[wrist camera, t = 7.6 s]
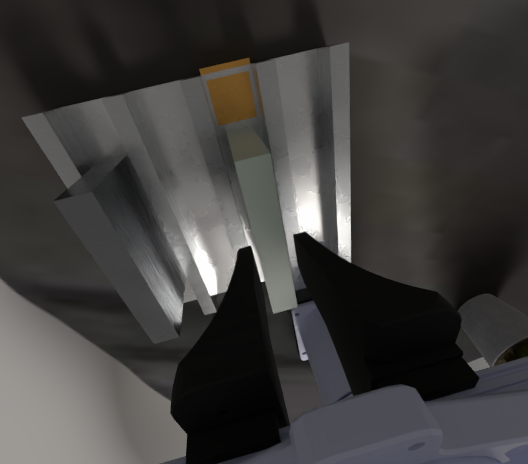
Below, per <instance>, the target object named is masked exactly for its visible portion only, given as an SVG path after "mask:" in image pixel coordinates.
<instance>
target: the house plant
mask: <svg viewBox="0 0 528 464" xmlns="http://www.w3.org/2000/svg"><path fill="white" fill-rule="evenodd" d="M458 312H459V313H460V315H461V318H462V322H461V327H462V328H463V330H464V331H465V332H466V334H467V335H468V337H469V338H470V339H471V341H472V342H473V343H474V345H475V346H476V348H477V349H478V350H479V352H480V353H481V355H482V356H483V357H484V359H485V360H486V362H487V363H488V364H489V366H490V367H493V366H496V365H500V364H503V363H507V362H510V361H513V360H517V359H520V358H524V357H527V356H528V316H527V315H525V314H524V313H522V312H520V311H519V310H517V309H515V308H514V307H512V306H510V305H509V304H507V303H505V302H504V301H502V300H500V299H499V298H497V297H495V296H494V295H492V294H481V295H478V296H476V297H473V298H472V299H470V300H468V301H467V302H466V303H464V304H463V305H462V306H461V307H460V308H459V310H458Z"/></svg>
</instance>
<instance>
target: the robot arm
mask: <svg viewBox="0 0 528 464" xmlns="http://www.w3.org/2000/svg"><path fill="white" fill-rule="evenodd" d="M293 238H294V245H295V251H296V257H297V264H298V268H299V270H300V273H301V276H302V278H303V281H304V283H305V285H306V287H307V289H308V291H309V293H310V295H311V297H312V299H313V301H310V302H306V303H302V304H299V305H297V306H298V307H297V308H293V309H291V313H292V318H293V323H294V328H295V333H296V338H297V343H298V348H299V353H300V357H301V360H308V359H309V362H310V365H311V368H312V371H313V374H314V377H315V380H316V383H317V386H318V389H319V392H320V395H321V398H322V401H323V404H324V405H322V406H318V407H315V408H313V409H311V410H308V411H306V412H304V413H302V414H301V415H300V416H298V417H297V418H296V419H295V420H294V421H293V422H292V424H291V426H290V422H289V418H288V414H287V410H286V406H285V401H284V397H283V393H282V389H281V384H280V380H279V376H278V372H277V367H276V363H275V359H274V354H273V350H272V346H271V341H270V336H269V329H268V321H267V314H266V307H265V299H264V293H263V289H262V284H261V280H260V276H259V273H258V269H257V265H256V262H255V258H254V254H253V250H252V247H251V246H247V247H243V248H240V249H239V250H238V251H237V259H236V263H235V267H234V271H233V274H232V278H231V281H230V283H229V286H228V289H227V291H226V294H225V296H224V298H223V300H222V302H221V304H220V306H219V308H218V310H217V312H216V314H215V316H214V317H213V319H212V321H211V322H210V324H209V326H208V327H207V329H206V330H205V331H204V333H203V334H202V336H201V337H200V339H199V340H198V341H197V343H196V344H195V345H194V347H193V348H192V349H191V350H190V351H189V353H188V354H187V355H186V356H185V357H184V359H183V360H182V361H181V362H180V363H179V364H178V368H177V371H176V375H175V380H174V384H173V390H172V400H171V412H170V413H171V415H172V417H173V418H174V420H175V421H176V422H177V423H178V424H179V425H180V427H181V428H182V429H183V430H184V431H185V432H186V433H187V449H186V456H185V457H181V458H178V459H174V460H171V461H168V462H164V463H161V464H528V356H527V357H524V358H520V359H517V360H513V361H510V362H507V363H503V364H500V365H496V366H493V367H489V368H486V369H483V370H479V371H476V372H474V371H473V370H472V368H471V367H470V366H469V365H468V364H467V363H466V361H465V360H464V359H463V358H462V357H461V356H463V352H462V350H461V349H460V348H459V347H458V346H457V345H456V343H455V342H456V339H457V336H458V333H459V331H460V328H461V322H462V318H461V315H460V313H459V312H458V311H457V310H456V309H455V308H454V307H453V306H452V305H451V304H450V303H449V302H448V301H447V300H446V299H444V298H443V297H442V296H441V295H440V294H439V293H437V292H435V291H430V290H426V289H422V288H417V287H413V286H409V285H406V284H402V283H399V282H396V281H393V280H390V279H387V278H384V277H381V276H379V275H376V274H374V273H371V272H369V271H366V270H364V269H362V268H360V267H358V266H356V265H354V264H352V263H350V262H348V261H346V260H345V259H343V258H341V257H340V256H338V255H337V254H335V253H334V252H332V251H331V250H329V249H328V248H326V247H325V246H323V245H322V244H321V243H319V242H318V241H317V240H315V239H314V238H313V237H312V236H310V235H309V234H308V233H306V232H301V233H297V234H293Z"/></svg>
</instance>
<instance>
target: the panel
mask: <svg viewBox="0 0 528 464" xmlns="http://www.w3.org/2000/svg"><path fill="white" fill-rule="evenodd" d="M227 136H228V140H229V144H230V148H231V152H232V156H233V160H234V163H235V167H236V171H237V175H238V179H239V183H240V187H241V191H242V194H243V198H244V202H245V206H246V210H247V214H248V218H249V221H250V225H251V229H252V233H253V237H254V241H255V245H256V248H257V252H258V256H259V260H260V264H261V268H262V272H263V276H264V279H265V283H266V287H267V291H268V295H269V299H270V303H271V306H272V310H273V314H275V313H278V312H282V311H286V310H289V309H293V308H297V307H298V306H297V300H296V295H295V289H294V283H293V278H292V272H291V266H290V261H289V255H288V250H287V244H286V238H285V233H284V227H283V221H282V216H281V210H280V205H279V199H278V193H277V188H276V182H275V176H274V171H273V165H272V159H271V154H270V152H269V151H268V149H267V148H266V146H265V145H264V143H263V142H262V141H261V139H260V138H259V136H258V135H257V133H256V132H255V131H254V129H253V128H252V127H248V128H244V129H240V130H236V131H232V132H228V133H227Z"/></svg>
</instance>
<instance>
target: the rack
mask: <svg viewBox="0 0 528 464" xmlns="http://www.w3.org/2000/svg"><path fill="white" fill-rule="evenodd" d="M199 71H200V74H201V75H199V76H194V77H190V78H186V79H181V80H177V81H173V82H168V83H164V84H160V85H155V86H151V87H146V88H142V89H138V90H133V91H129V92H125V93H120V94H116V95H112V96H107V97H103V98H99V99H94V100H90V101H86V102H81V103H77V104H73V105H68V106H64V107H60V108H55V109H51V110H47V111H44V112H40V113H36V114H33V115H29V116H25V117H22V119H23V121H24V123H25V124H26V126H27V127H28V129H29V130H30V132H31V133H32V135H33V136H34V138H35V139H36V141H37V142H38V144H39V145H40V147H41V149H42V150H43V152H44V153H45V155H46V156H47V158H48V159H49V161H50V162H51V164H52V165H53V167H54V168H55V170H56V171H57V173H58V175H59V176H60V178H61V179H62V181H63V182H64V184H65V185H66V187H67V188H68V189H67V190H66V191H65V192H63V193H62V194H61V195H60V196H59V197H58V198H56V199H55V200H54V201H53V202H54V203H55V205H56V206H57V208H58V209H59V210H60V212H61V213H62V215H63V216H64V217H65V219H66V220H67V222H68V223H69V224H70V226H71V227H72V229H73V230H74V232H75V233H76V234H77V236H78V237H79V239H80V240H81V241H82V243H83V244H84V246H85V247H86V249H87V250H88V251H89V253H90V254H91V256H92V257H93V258H94V260H95V261H96V263H97V264H98V265H99V267H100V268H101V270H102V271H103V273H104V274H105V275H106V277H107V278H108V280H109V281H110V282H111V284H112V285H113V287H114V288H115V289H116V291H117V292H118V294H119V295H120V297H121V298H122V299H123V301H124V302H125V304H126V305H127V306H128V308H129V309H130V311H131V312H132V313H133V315H134V316H135V318H136V319H137V321H138V322H139V323H140V325H141V326H142V328H143V329H144V330H145V332H146V333H147V335H148V336H149V338H150V339H151V340H152V342H153V343H154V344H156V343H159V342H163V341H167V340H170V339H174V338H178V337H180V328H181V319H182V310H183V303H185V302H189V301H192V300H196V299H197V300H198V302H199V304H200V306H201V308H202V310H203V312H204V314H205V315H207V314H211V313H214V312H217V297H216V294H219V293H222V292H226V291H227V289H228V286H229V283H230V281H231V278H232V274H233V271H234V267H235V263H236V259H237V251H238V250H239V249H240V248H243V247H247V246H251V247H252V250H253V254H254V258H255V262H256V265H257V269H258V273H259V276H260V280H261V282H264V281H265V279H264V276H263V272H262V268H261V264H260V260H259V256H258V252H257V248H256V245H255V241H254V237H253V233H252V229H251V225H250V221H249V218H248V214H247V210H246V206H245V202H244V198H243V194H242V191H241V187H240V183H239V179H238V175H237V171H236V167H235V163H234V160H233V156H232V152H231V148H230V144H229V140H228V136H227V133H228V132H232V131H236V130H240V129H244V128H248V127H252V128H253V129H254V131H255V132H256V133H257V135H258V136H259V138H260V139H261V141H262V142H263V143H264V145H265V146H266V148H267V149H268V151H269V152H270V154H271V159H272V165H273V171H274V176H275V182H276V188H277V193H278V199H279V205H280V210H281V216H282V221H283V227H284V233H285V238H286V244H287V250H288V255H289V261H290V266H291V272H292V278H293V283H294V288H295V291H296V290H300V289H303V288H307V287H306V285H305V283H304V281H303V278H302V276H301V273H300V270H299V268H298V264H297V257H296V251H295V245H294V238H293V234H297V233H301V232H306V233H308V234H309V235H310V236H312V237H313V238H314V239H315V240H317V241H318V242H319V243H321V244H322V245H323V246H325V247H326V248H328V249H329V250H331V251H332V252H334V253H335V254H337V255H338V256H340V257H341V258H343V259H345V260H346V261H348V262H350V263H351V198H350V88H349V42H347V43H341V44H336V45H330V46H325V47H320V48H316V49H312V50H307V51H303V52H299V53H294V54H290V55H286V56H281V57H277V58H273V59H268V60H264V61H260V62H255V63H251V64H250V59H249V58H245V59H241V60H236V61H232V62H228V63H223V64H219V65H215V66H210V67H206V68H202V69H199Z"/></svg>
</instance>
